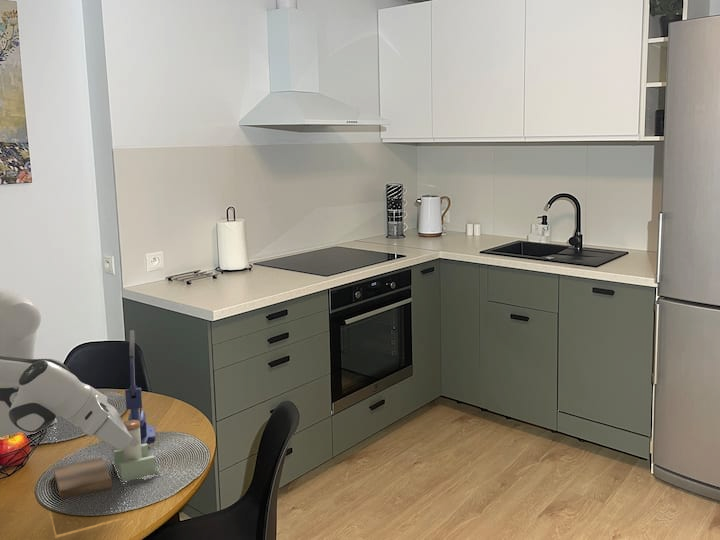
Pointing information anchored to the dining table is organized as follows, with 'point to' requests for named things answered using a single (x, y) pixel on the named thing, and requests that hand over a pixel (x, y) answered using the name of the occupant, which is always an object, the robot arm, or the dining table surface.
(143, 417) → the hand press
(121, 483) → the mat
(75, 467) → the board
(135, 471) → the rack
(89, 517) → the dining table surface
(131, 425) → the mushroom
